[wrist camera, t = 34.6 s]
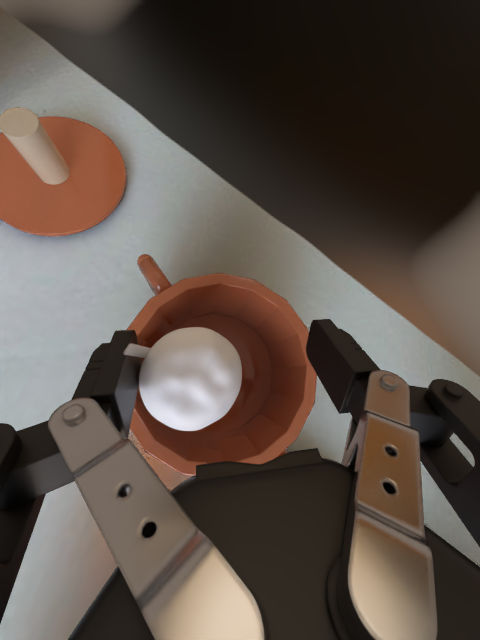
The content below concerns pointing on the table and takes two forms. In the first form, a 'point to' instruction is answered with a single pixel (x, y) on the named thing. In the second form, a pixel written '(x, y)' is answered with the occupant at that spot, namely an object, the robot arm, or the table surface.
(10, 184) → the teapot lid
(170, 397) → the milkshake
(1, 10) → the table surface
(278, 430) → the teapot
